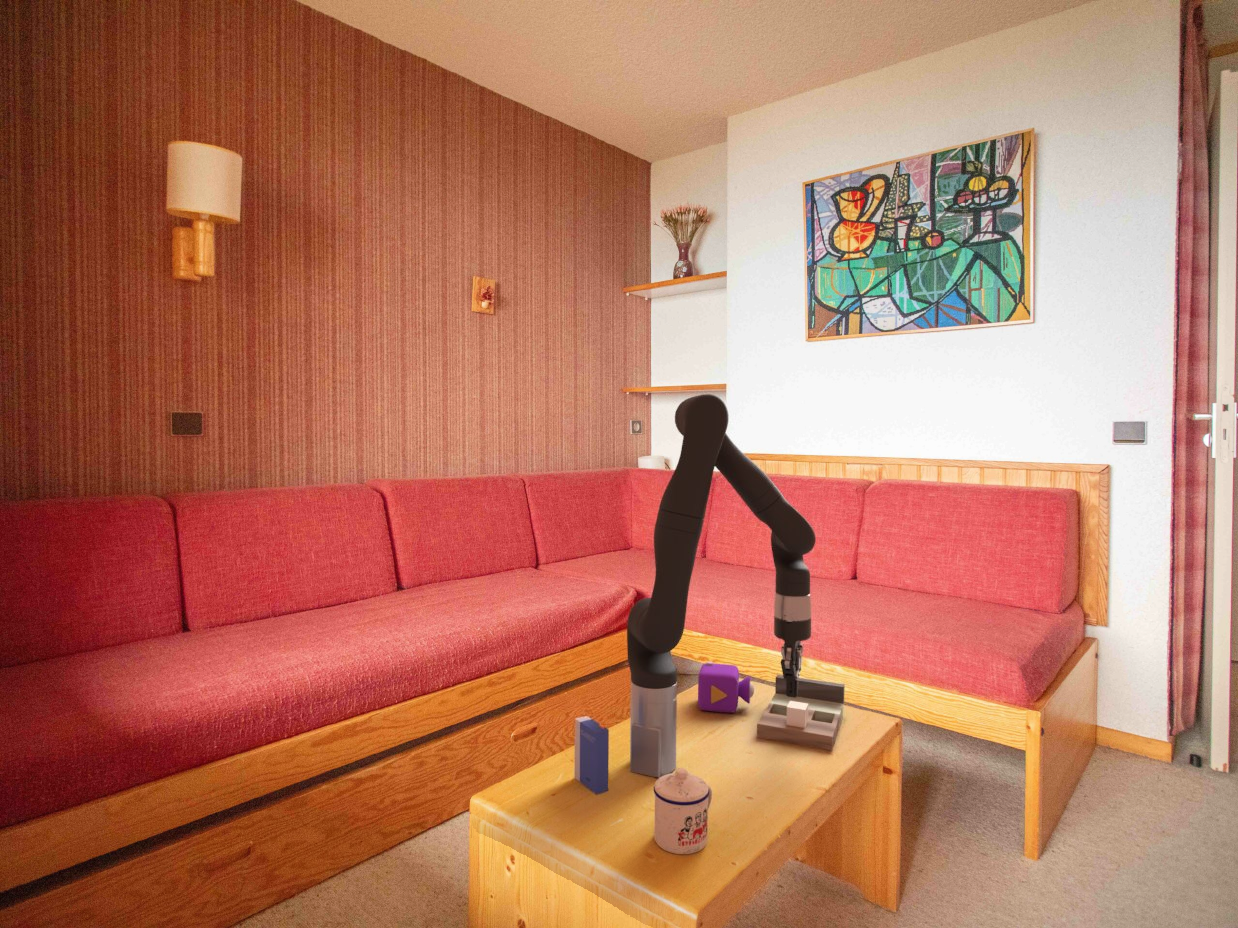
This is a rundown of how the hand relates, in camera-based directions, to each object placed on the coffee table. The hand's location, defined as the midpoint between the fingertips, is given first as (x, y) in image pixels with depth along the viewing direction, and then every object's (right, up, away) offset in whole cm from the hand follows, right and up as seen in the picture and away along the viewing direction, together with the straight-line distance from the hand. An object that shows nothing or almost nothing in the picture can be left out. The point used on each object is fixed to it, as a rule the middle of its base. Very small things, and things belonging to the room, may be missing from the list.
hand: (792, 695), depth 148 cm
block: (+3, -9, +8) cm, 12 cm away
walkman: (-42, -12, -14) cm, 46 cm away
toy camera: (-10, -11, +24) cm, 29 cm away
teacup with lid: (-25, -13, -31) cm, 42 cm away
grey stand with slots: (+6, -11, +14) cm, 19 cm away
